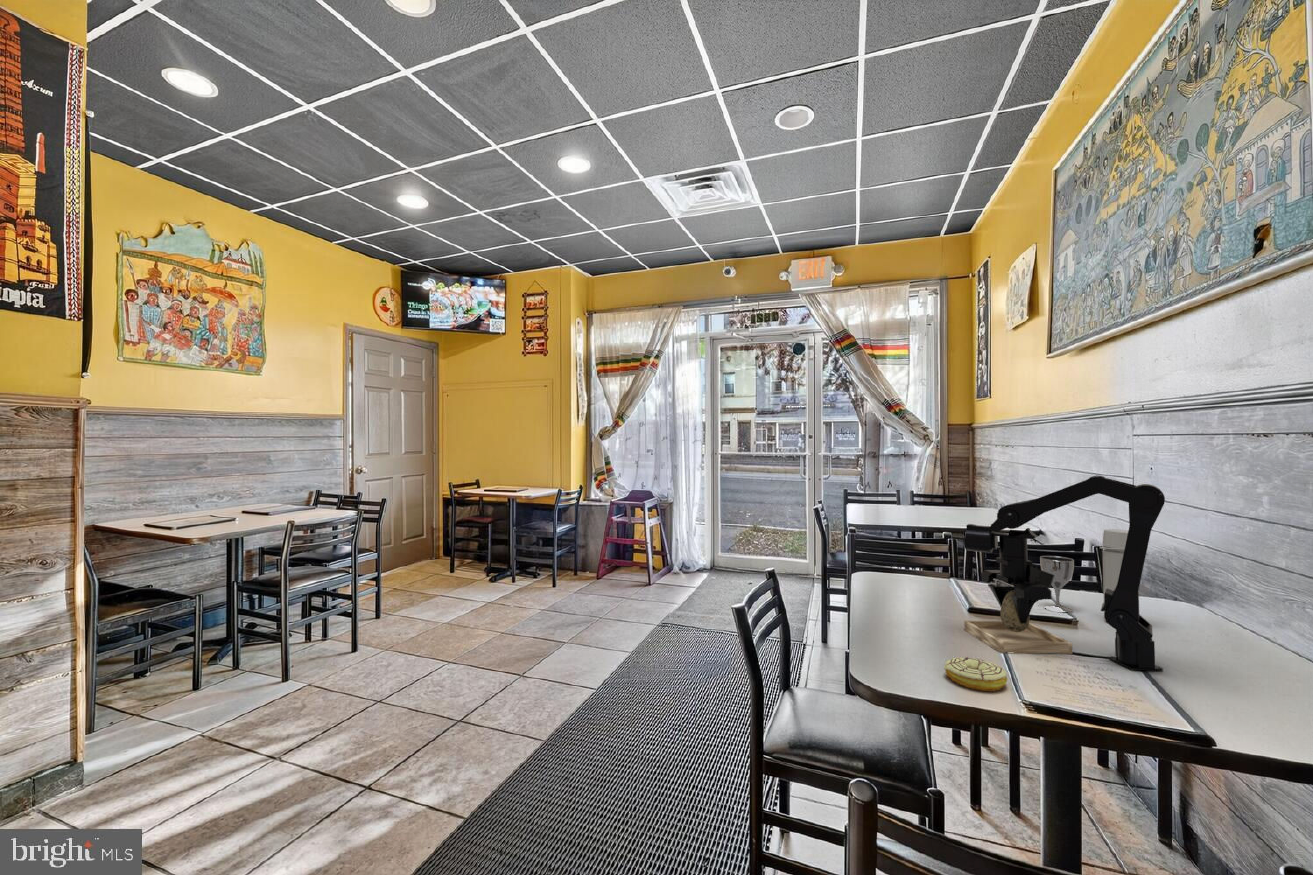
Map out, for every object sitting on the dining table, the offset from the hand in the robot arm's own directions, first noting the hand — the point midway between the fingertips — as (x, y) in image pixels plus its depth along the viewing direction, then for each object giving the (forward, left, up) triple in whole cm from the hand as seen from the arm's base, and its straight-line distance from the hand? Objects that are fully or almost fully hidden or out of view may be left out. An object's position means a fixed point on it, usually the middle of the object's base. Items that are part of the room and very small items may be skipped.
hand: (1015, 619), depth 131 cm
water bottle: (+16, -37, -6) cm, 41 cm away
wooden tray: (0, 0, -5) cm, 5 cm away
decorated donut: (-24, +22, -6) cm, 33 cm away
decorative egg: (0, 0, -3) cm, 3 cm away
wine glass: (+28, -29, -6) cm, 41 cm away
